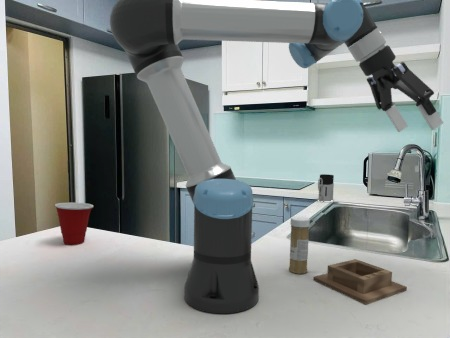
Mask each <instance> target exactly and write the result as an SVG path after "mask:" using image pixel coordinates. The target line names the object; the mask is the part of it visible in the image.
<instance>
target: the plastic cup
mask: <svg viewBox="0 0 450 338" xmlns="http://www.w3.org/2000/svg"><path fill="white" fill-rule="evenodd" d="M54 206H55V207H56V212H57V216H58V221H59V227H60V233H61V236H62V242H63V244H64V245H66V246H76V245H81V244H83V243H85V240H86V236H87V235H86V233H87V230H88V223H89V220H90V214H91V213H92V212H91V211H92V209H93V208H94V205H93V204H91V203H86V202H85V203H84V202H58V203H55V204H54Z"/></svg>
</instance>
